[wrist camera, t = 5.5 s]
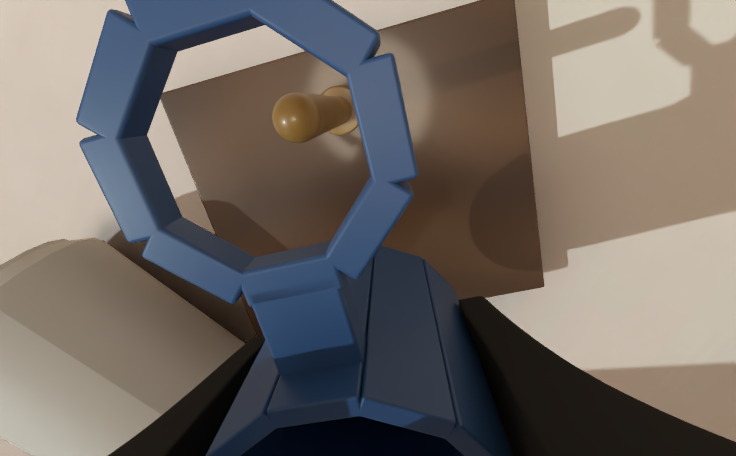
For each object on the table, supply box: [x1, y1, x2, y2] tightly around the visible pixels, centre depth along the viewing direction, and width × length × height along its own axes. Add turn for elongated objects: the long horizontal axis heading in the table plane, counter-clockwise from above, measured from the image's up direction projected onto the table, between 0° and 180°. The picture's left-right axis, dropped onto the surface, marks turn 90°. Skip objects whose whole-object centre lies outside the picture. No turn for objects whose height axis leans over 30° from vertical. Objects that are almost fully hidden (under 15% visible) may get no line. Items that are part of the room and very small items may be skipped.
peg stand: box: [160, 0, 544, 337], centre depth 12 cm, size 12×14×9 cm
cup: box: [76, 0, 513, 456], centre depth 8 cm, size 11×5×6 cm, turn 14°
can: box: [0, 238, 245, 456], centre depth 16 cm, size 8×8×12 cm
